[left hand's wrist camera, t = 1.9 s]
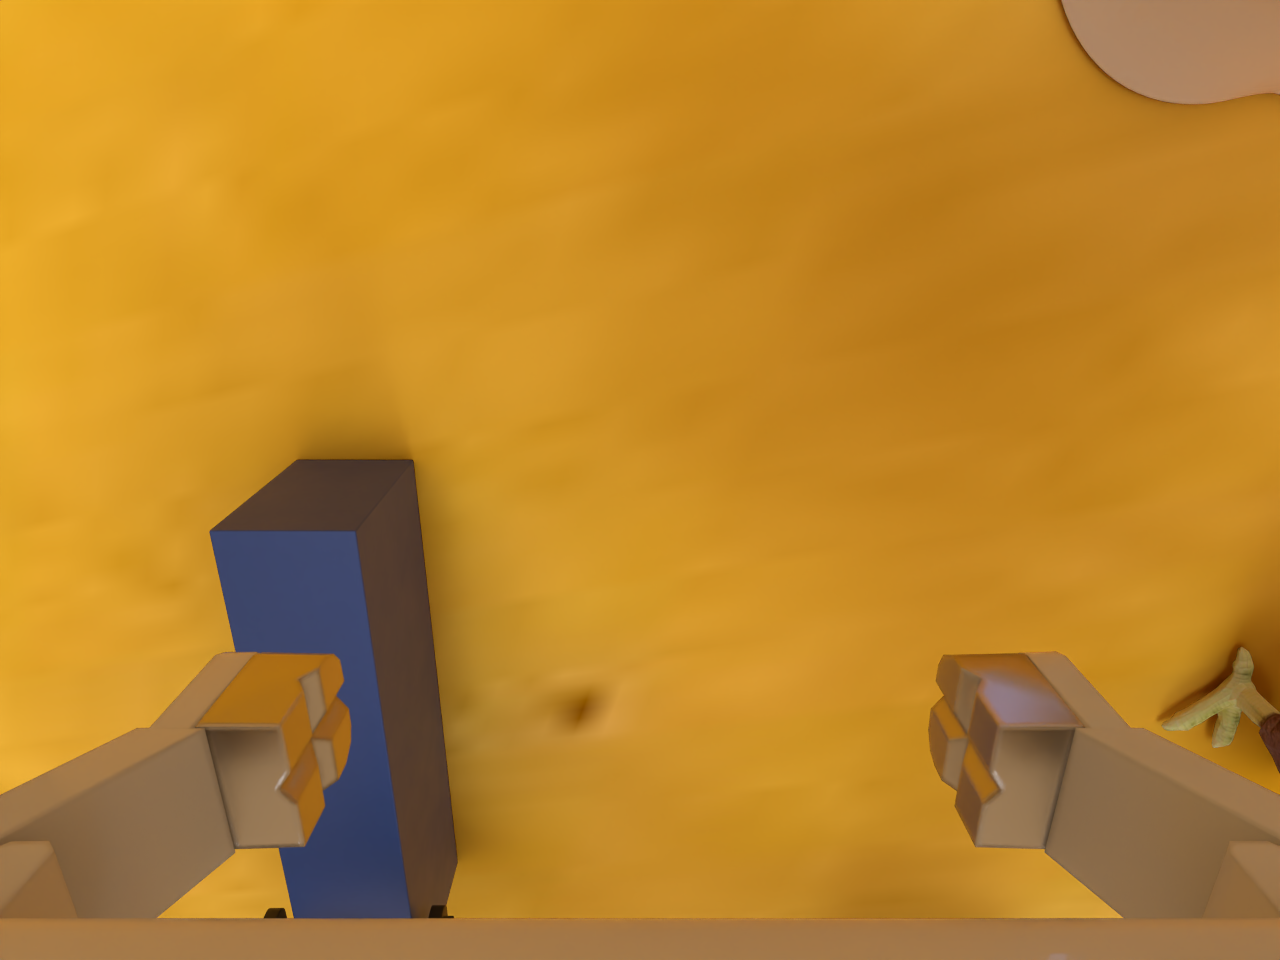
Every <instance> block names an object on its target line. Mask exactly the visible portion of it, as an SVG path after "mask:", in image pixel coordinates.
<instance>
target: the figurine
mask: <svg viewBox="0 0 1280 960" xmlns="http://www.w3.org/2000/svg"><path fill="white" fill-rule="evenodd" d="M1253 670H1254V665H1253V661H1252V657H1251V655H1250V653H1249V651H1247V650H1246V649H1245V648H1243V647H1240V648H1238V651H1237V655H1236V659H1235V661H1234V662H1233V672H1232V674H1231V675H1230V676H1228V677H1227V678H1226V679H1225V680H1224V681H1223V682H1222V683H1221V684H1220V685H1219V686H1218V687H1217V688H1216V689H1214V690H1213V691H1211V692H1210V693H1208V694H1207V695H1205V696H1204V697H1202V698H1201V699H1199V700H1198V701H1196V702H1194V703H1193V704H1191V705H1190V706H1188V707H1187V708H1185V709H1183V710H1180V711H1178V712H1176V713H1175V714H1174V715H1173V716H1172V717H1171V718H1170V719H1169V720H1167V721H1165V722H1163V723H1162V727H1163V728H1164V729H1165V730H1168V731H1174V730H1189V729H1191V728H1192V727H1194V726H1196V725H1198V724H1200V723H1202V722H1204V721H1205V720H1207V719H1208V718H1210V717H1211V716H1213V715H1215V714H1216V713H1217V714H1218V718H1217V720H1216V723H1215V726H1214V731H1213V734H1212V746H1213V748H1214V747H1216V748H1217V747H1223V746H1227V745H1230V744H1231V742H1232V741H1233V738H1234V734H1235V732H1236V729H1237V725H1238V724H1239V721H1240V716H1241V712H1242V711H1243V712H1244V713H1245V714H1246V715H1247V716H1248V717H1249V719H1250V720H1251V721H1252V722H1254V723H1255V724H1256V725H1258V726H1259V727H1260V728H1261V729H1260V731H1259V734H1260V736H1261V738H1262V740H1263V742H1264V744H1265V745H1266V747H1267V749H1268V750H1269V752H1270V754H1271V755H1272V757H1273V759H1274V762H1275V764H1276V766H1277V769H1278V771H1279V773H1280V712H1279V711H1278V710H1277V709H1275V708H1274V707H1273V706H1272V705H1271V704H1270V703H1269V702H1267V701H1266V700H1265V699H1264V698H1263V697H1262V696H1261V695H1260V694H1259V693H1258V692H1257V690H1256V687H1255V685H1254V684H1253V683H1252V681H1251V677H1252V673H1253Z"/></svg>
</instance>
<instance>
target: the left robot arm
mask: <svg viewBox="0 0 1280 960" xmlns="http://www.w3.org/2000/svg"><path fill="white" fill-rule="evenodd" d="M1061 2H1062V5H1063V8H1064V11H1065V14H1066V16H1067V18H1068V21H1069V23H1070V25H1071V28H1072V29H1073V31H1074V33H1075V35H1076V37H1077V39H1078V40H1079V42H1080V44H1081V45H1082V47H1083V48H1084V50H1085V51H1086V52H1087V53H1088V55H1089V56H1090V57H1091V59H1092V60H1093V61H1094V62H1095V63H1096V64H1097V65H1098V66H1099V67H1100V68H1101V69H1102V70H1103V71H1104V72H1105V73H1106V74H1108V75H1109V76H1110V77H1111V78H1113V79H1114V80H1115V81H1117V82H1118V83H1120V84H1121V85H1123V86H1125V87H1126V88H1128V89H1130V90H1132V91H1134V92H1136V93H1138V94H1141V95H1144V96H1146V97H1149V98H1152V99H1156V100H1159V101H1164V102H1170V103H1178V104H1207V103H1215V102H1222V101H1227V100H1231V99H1236V98H1240V97H1245V96H1250V95H1255V94H1262V93H1275V94H1279V95H1280V0H1061ZM343 682H344V677H343V672H342V667H341V662H340V659H338V658H337V657H336V656H335V655H334V654H323V653H275V652H262V653H258V652H224V653H221V654H217V655H215V656H214V657H213V658H212V659H211V660H210V661H209V663H208V664H207V665H206V666H205V667H204V668H203V669H202V670H201V671H200V673H199V674H198V675H197V676H196V677H195V678H194V679H193V680H192V681H191V682H190V684H189V685H188V686H187V687H186V688H185V689H184V690H183V691H182V692H181V694H180V695H179V696H178V697H177V698H176V699H175V700H174V701H173V702H172V703H171V705H170V706H169V707H168V708H167V709H166V710H165V711H164V712H163V713H162V715H161V716H160V717H159V718H158V719H157V720H156V721H155V722H154V723H153V724H152V726H151V727H150V728H136V729H134V730H132V731H130V732H128V733H126V734H124V735H122V736H120V737H118V738H116V739H114V740H112V741H110V742H108V743H105V744H103V745H101V746H99V747H97V748H95V749H93V750H91V751H89V752H87V753H85V754H83V755H81V756H79V757H77V758H75V759H73V760H71V761H69V762H67V763H65V764H63V765H61V766H58V767H56V768H54V769H52V770H50V771H48V772H46V773H44V774H42V775H40V776H38V777H36V778H34V779H32V780H30V781H28V782H26V783H24V784H22V785H20V786H18V787H16V788H14V789H11V790H9V791H7V792H5V793H3V794H1V795H0V960H1280V795H1278V794H1276V793H1274V792H1272V791H1270V790H1268V789H1266V788H1264V787H1262V786H1260V785H1258V784H1256V783H1254V782H1252V781H1250V780H1248V779H1246V778H1244V777H1242V776H1240V775H1238V774H1236V773H1234V772H1231V771H1229V770H1227V769H1225V768H1223V767H1221V766H1219V765H1217V764H1215V763H1213V762H1211V761H1209V760H1207V759H1205V758H1203V757H1201V756H1199V755H1197V754H1195V753H1193V752H1191V751H1189V750H1187V749H1185V748H1183V747H1181V746H1178V745H1176V744H1174V743H1172V742H1170V741H1168V740H1166V739H1164V738H1162V737H1160V736H1158V735H1156V734H1154V733H1152V732H1150V731H1148V730H1146V729H1144V728H1130V727H1129V726H1128V724H1127V723H1126V722H1125V721H1124V720H1123V719H1122V718H1121V717H1120V716H1119V715H1118V713H1117V712H1116V711H1115V710H1114V709H1113V708H1112V707H1111V706H1110V705H1109V703H1108V702H1107V701H1106V700H1105V699H1104V698H1103V697H1102V696H1101V695H1100V694H1099V692H1098V691H1097V690H1096V689H1095V688H1094V687H1093V686H1092V685H1091V684H1090V682H1089V681H1088V680H1087V679H1086V678H1085V677H1084V676H1083V675H1082V674H1081V673H1080V671H1079V670H1078V669H1077V668H1076V667H1075V666H1074V665H1073V664H1072V663H1071V661H1070V660H1069V659H1068V658H1067V657H1066V656H1065V655H1063V654H1060V653H1058V652H1027V653H1013V654H960V655H943V657H942V659H941V661H940V663H939V665H938V670H937V676H936V682H937V684H938V686H939V688H940V689H941V691H942V693H943V695H944V696H943V697H942V698H941V699H940V700H939V701H938V702H937V703H936V704H935V705H934V706H933V707H932V708H931V713H930V721H929V729H928V731H929V742H930V751H931V755H932V758H933V762H934V765H935V767H936V770H937V772H938V774H939V776H940V778H941V780H942V781H943V782H945V783H946V784H948V785H949V786H951V787H952V788H954V789H955V790H956V791H957V795H956V801H955V808H956V810H957V812H958V814H959V816H960V818H961V820H962V821H963V823H964V825H965V827H966V829H967V831H968V833H969V835H970V837H971V839H972V841H973V843H974V845H975V847H992V848H1028V849H1045V853H1046V854H1047V855H1049V856H1050V857H1051V858H1052V859H1053V860H1055V861H1056V862H1057V863H1058V864H1059V865H1061V866H1062V867H1063V868H1064V869H1065V870H1067V871H1068V872H1069V873H1070V874H1072V875H1073V876H1074V877H1075V878H1076V879H1078V880H1079V881H1080V882H1081V883H1082V884H1084V885H1085V886H1086V887H1087V888H1088V889H1090V890H1091V891H1092V892H1093V893H1094V894H1096V895H1097V896H1098V897H1099V898H1100V899H1102V900H1103V901H1104V902H1105V903H1106V904H1108V905H1109V906H1110V907H1111V908H1112V909H1114V910H1115V911H1116V912H1117V913H1118V914H1120V915H1121V916H1122V917H1123V918H803V919H802V918H801V919H626V918H157V917H158V916H159V915H161V914H162V913H163V912H164V911H165V910H167V909H168V908H169V907H170V906H171V905H173V904H174V903H175V902H176V901H177V900H179V899H180V898H181V897H182V896H183V895H185V894H186V893H187V892H188V891H189V890H191V889H192V888H193V887H194V886H196V885H197V884H198V883H199V882H200V881H202V880H203V879H204V878H205V877H206V876H208V875H209V874H210V873H211V872H212V871H214V870H215V869H216V868H217V867H218V866H220V865H221V864H222V863H223V862H225V861H226V860H227V859H228V858H229V857H231V856H232V855H233V854H234V853H235V849H251V848H286V847H305V845H306V843H307V841H308V839H309V837H310V835H311V833H312V831H313V829H314V827H315V825H316V824H317V822H318V820H319V818H320V816H321V814H322V812H323V810H324V808H325V801H324V795H323V791H324V790H325V789H326V788H328V787H329V786H331V785H332V784H334V783H335V782H337V781H338V780H339V778H340V776H341V774H342V772H343V769H344V767H345V765H346V763H347V758H348V753H349V749H350V744H351V719H350V712H349V708H348V707H347V706H346V705H345V704H344V703H343V702H342V701H341V700H340V699H339V698H338V697H337V696H336V695H337V693H338V691H339V689H340V688H341V686H342V684H343Z"/></svg>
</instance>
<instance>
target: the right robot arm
mask: <svg viewBox="0 0 1280 960" xmlns="http://www.w3.org/2000/svg"><path fill="white" fill-rule="evenodd" d="M264 918H287V916H286V912H285V909H284V908H269V909H268V910H267V912H266V914H265V916H264ZM428 918H454V916H448V914H447V907H446V905H432V907H431V909H430V913H429V917H428Z"/></svg>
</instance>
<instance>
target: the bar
mask: <svg viewBox="0 0 1280 960" xmlns="http://www.w3.org/2000/svg"><path fill="white" fill-rule="evenodd" d="M210 537H211V541H212V546H213V550H214V555H215V559H216V564H217V569H218V573H219V578H220V582H221V587H222V591H223V596H224V600H225V605H226V610H227V614H228V619H229V623H230V628H231V632H232V637H233V642H234V646H235V651H236V652H258V653H262V652H275V653H323V654H334V655H335V656H336V657H337V658H338V659H340V662H341V667H342V672H343V677H344V682H343V684H342V686H341V688H340V689H339V691H338V693H337V695H336V696H337V697H338V698H339V699H340V700H341V701H342V702H343V703H344V704H345V705H346V706H347V707H348V708H349V712H350V719H351V744H350V749H349V753H348V758H347V763H346V765H345V767H344V769H343V772H342V774H341V776H340V778H339V780H338V781H337V782H335V783H334V784H332V785H331V786H329V787H328V788H326V789H325V790H324V791H323V795H324V801H325V808H324V810H323V812H322V814H321V816H320V818H319V820H318V822H317V824H316V825H315V827H314V829H313V831H312V833H311V835H310V837H309V839H308V841H307V843H306V845H305V847H286V848H279V852H280V856H281V861H282V865H283V870H284V875H285V879H286V884H287V888H288V893H289V897H290V902H291V907H292V911H293V916H294V918H428V917H429V913H430V909H431V907H432V905H446V904H447V900H448V896H449V893H450V889H451V885H452V881H453V878H454V874H455V870H456V866H457V854H456V844H455V835H454V826H453V817H452V808H451V799H450V790H449V781H448V772H447V763H446V754H445V745H444V736H443V727H442V718H441V709H440V699H439V690H438V681H437V672H436V663H435V654H434V645H433V636H432V627H431V618H430V609H429V600H428V591H427V582H426V573H425V564H424V555H423V545H422V536H421V527H420V518H419V509H418V500H417V491H416V482H415V473H414V464H413V460H296V461H295V462H294V463H292V464H291V465H290V466H289V467H287V468H286V469H285V470H284V471H283V472H281V473H280V474H279V475H278V476H276V477H275V478H274V479H273V480H272V481H270V482H269V483H268V484H267V485H265V486H264V487H263V488H262V489H260V490H259V491H258V492H257V493H256V494H254V495H253V496H252V497H251V498H249V499H248V500H247V501H246V502H244V503H243V504H242V505H241V506H240V507H238V508H237V509H236V510H235V511H233V512H232V513H231V514H230V515H229V516H227V517H226V518H225V519H224V520H222V521H221V522H220V523H219V524H217V525H216V526H215V527H214V528H213V529H211V530H210Z"/></svg>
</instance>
